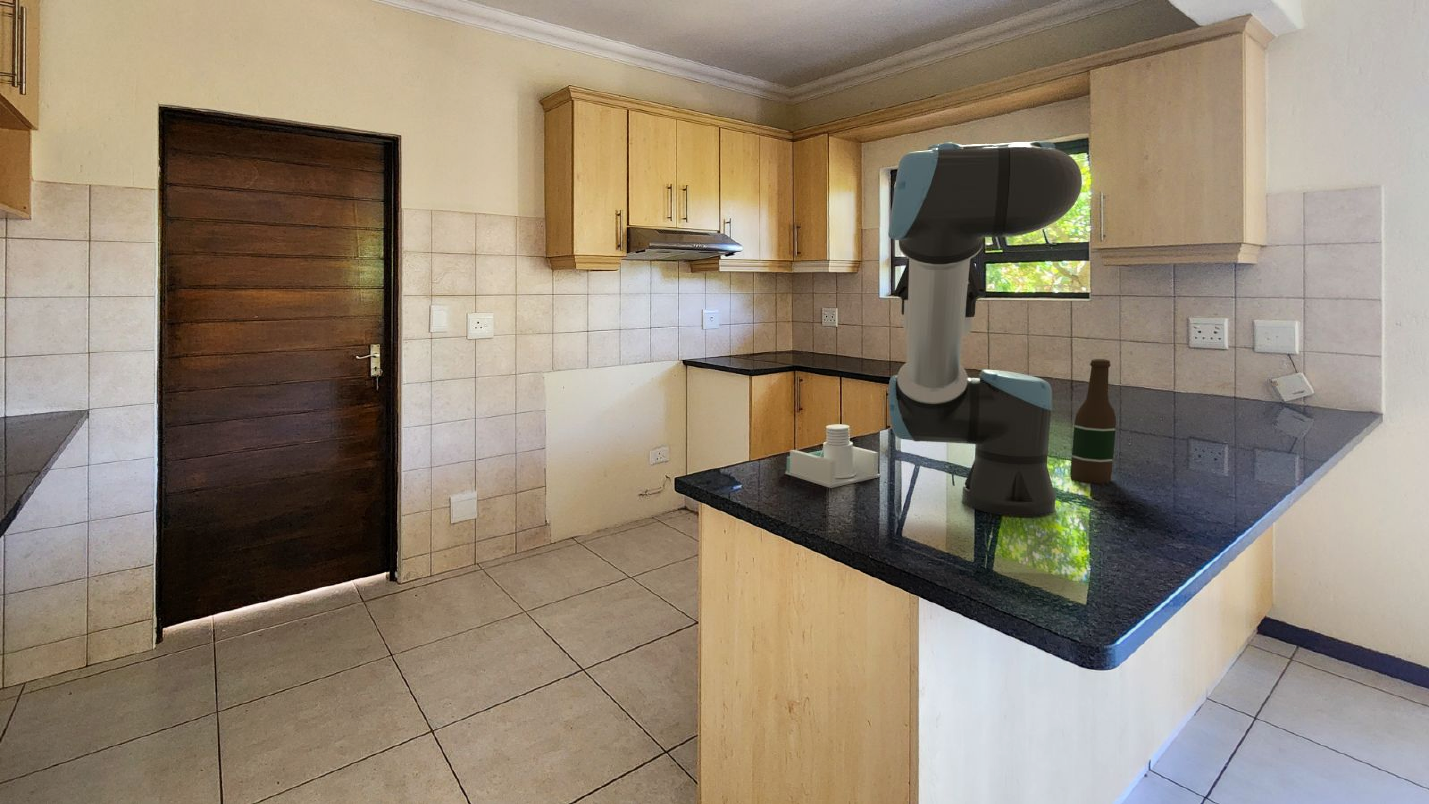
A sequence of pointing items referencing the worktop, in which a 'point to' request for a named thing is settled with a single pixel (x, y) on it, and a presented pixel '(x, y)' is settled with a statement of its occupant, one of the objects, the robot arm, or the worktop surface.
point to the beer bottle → (1094, 430)
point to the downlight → (840, 450)
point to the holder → (831, 467)
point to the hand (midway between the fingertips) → (935, 332)
